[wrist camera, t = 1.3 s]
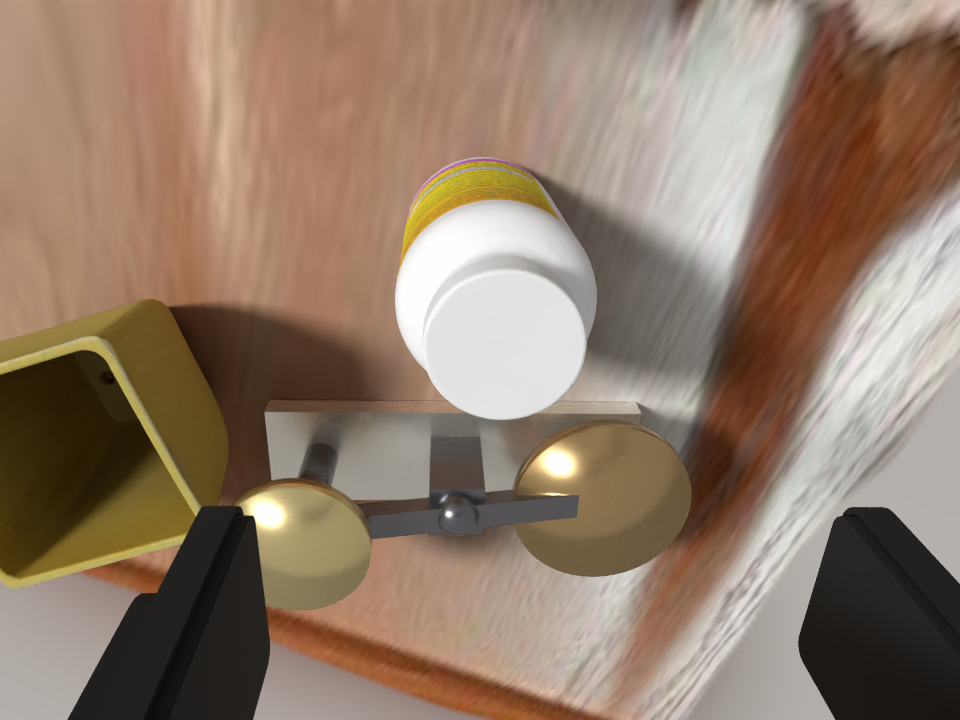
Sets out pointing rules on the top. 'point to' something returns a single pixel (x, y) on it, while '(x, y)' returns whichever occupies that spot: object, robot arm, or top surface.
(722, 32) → the top surface
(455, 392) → the supplement bottle
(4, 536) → the flower pot
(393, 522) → the balance
